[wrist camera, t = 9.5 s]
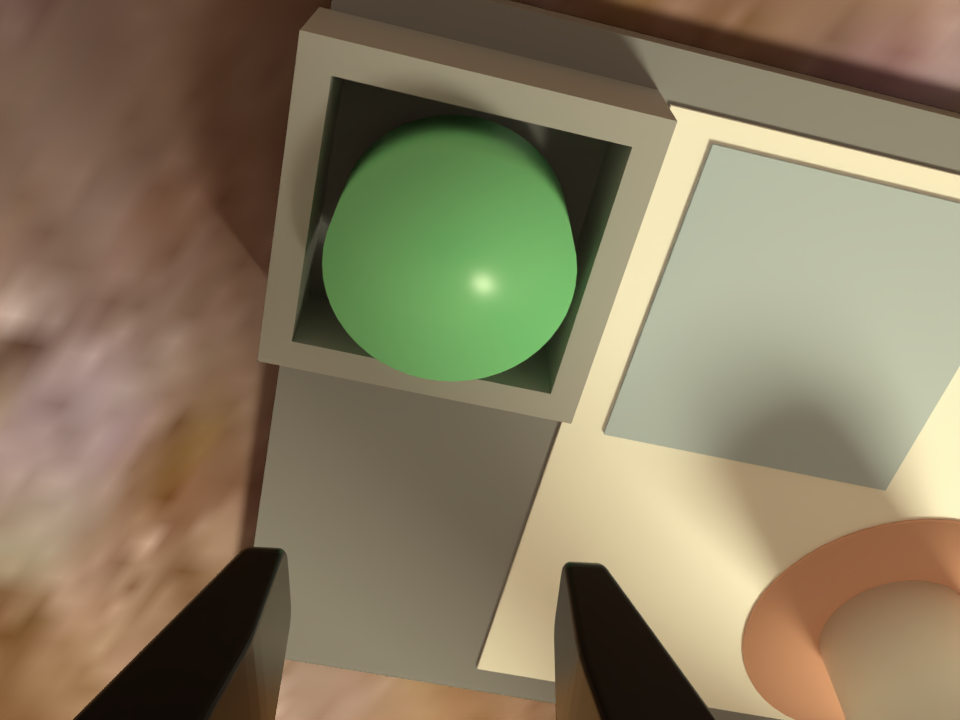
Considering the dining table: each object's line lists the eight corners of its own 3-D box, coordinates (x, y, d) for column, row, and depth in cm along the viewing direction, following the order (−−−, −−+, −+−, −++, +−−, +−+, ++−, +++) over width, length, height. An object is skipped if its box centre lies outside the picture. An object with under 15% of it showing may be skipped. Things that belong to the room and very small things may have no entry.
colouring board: (1389, 222, 19) (1509, 276, 17) (961, 753, 28) (1001, 835, 26) (331, -45, 16) (306, -23, 14) (236, 633, 26) (212, 712, 23)
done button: (597, 145, 17) (609, 184, 15) (534, 347, 19) (539, 402, 17) (358, 89, 16) (343, 122, 14) (322, 304, 18) (306, 355, 17)
